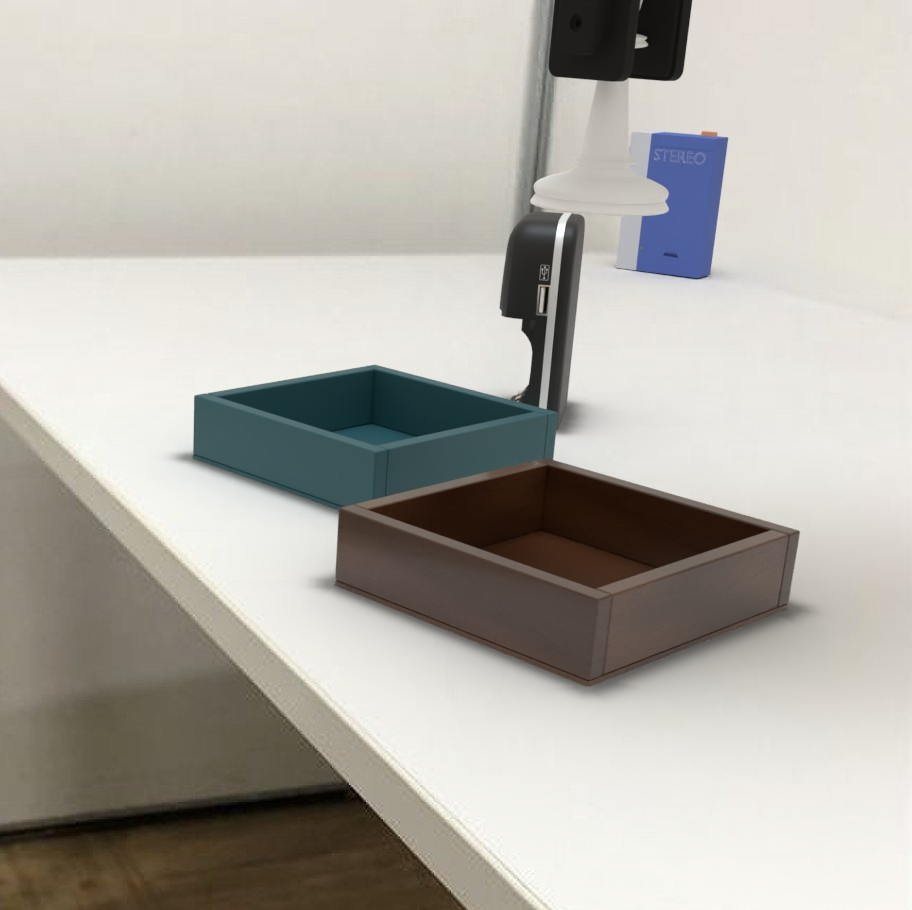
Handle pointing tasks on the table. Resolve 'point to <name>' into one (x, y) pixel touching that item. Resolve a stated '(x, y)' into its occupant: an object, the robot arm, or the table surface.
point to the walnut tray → (566, 565)
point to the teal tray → (365, 433)
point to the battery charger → (545, 300)
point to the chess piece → (604, 165)
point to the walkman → (675, 203)
